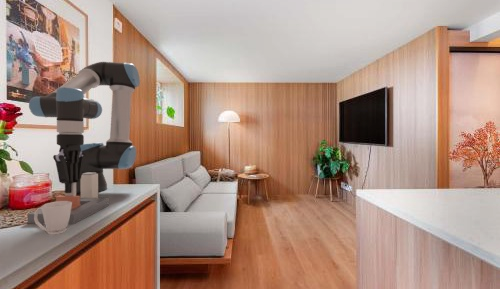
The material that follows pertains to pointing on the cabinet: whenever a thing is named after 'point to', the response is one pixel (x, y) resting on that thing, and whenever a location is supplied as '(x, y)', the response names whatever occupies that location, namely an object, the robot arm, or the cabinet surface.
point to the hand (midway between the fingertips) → (70, 201)
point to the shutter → (73, 199)
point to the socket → (76, 210)
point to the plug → (89, 185)
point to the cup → (55, 216)
